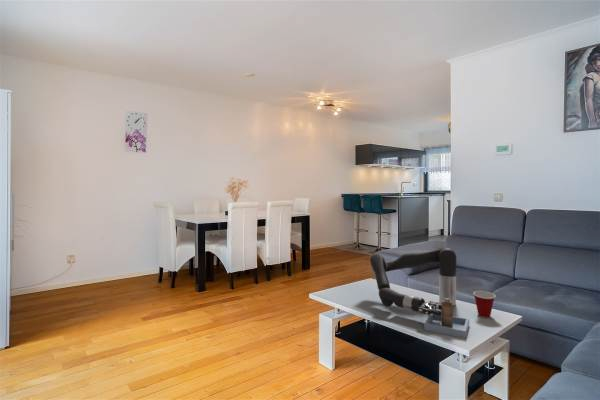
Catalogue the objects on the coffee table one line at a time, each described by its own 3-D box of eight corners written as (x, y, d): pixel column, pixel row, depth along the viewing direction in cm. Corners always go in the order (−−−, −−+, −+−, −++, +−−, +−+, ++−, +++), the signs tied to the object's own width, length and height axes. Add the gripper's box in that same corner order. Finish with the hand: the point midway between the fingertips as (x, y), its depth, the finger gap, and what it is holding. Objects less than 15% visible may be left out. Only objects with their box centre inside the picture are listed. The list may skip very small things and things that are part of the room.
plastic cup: (474, 317, 179) (474, 295, 179) (471, 311, 189) (471, 290, 189) (497, 320, 175) (497, 297, 175) (493, 313, 186) (493, 291, 185)
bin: (431, 318, 178) (431, 312, 178) (469, 325, 169) (469, 318, 169) (424, 330, 163) (424, 323, 163) (465, 338, 154) (465, 331, 154)
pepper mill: (442, 323, 170) (442, 296, 169) (453, 325, 167) (453, 298, 167) (440, 327, 165) (440, 299, 165) (451, 329, 163) (451, 301, 163)
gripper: (419, 307, 184) (450, 314, 172) (407, 314, 174) (438, 322, 162) (419, 293, 184) (450, 300, 172) (407, 299, 174) (438, 307, 162)
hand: (444, 311), depth 167 cm, fingers open, 8 cm apart
